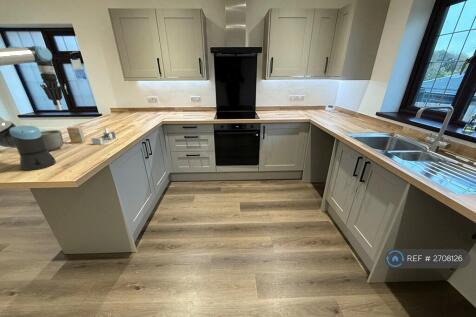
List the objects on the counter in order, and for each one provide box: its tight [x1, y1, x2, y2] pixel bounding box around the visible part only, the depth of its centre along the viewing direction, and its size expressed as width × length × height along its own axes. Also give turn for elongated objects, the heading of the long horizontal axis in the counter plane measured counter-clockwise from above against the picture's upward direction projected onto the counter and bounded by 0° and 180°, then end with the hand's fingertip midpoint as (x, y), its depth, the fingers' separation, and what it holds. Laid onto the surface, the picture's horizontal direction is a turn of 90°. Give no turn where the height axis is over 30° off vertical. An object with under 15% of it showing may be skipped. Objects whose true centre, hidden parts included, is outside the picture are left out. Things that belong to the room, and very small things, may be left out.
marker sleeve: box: [102, 126, 113, 139], centre depth 165 cm, size 3×5×9 cm, turn 85°
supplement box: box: [66, 126, 86, 144], centre depth 157 cm, size 8×5×13 cm, turn 105°
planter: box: [40, 129, 64, 152], centre depth 141 cm, size 14×14×13 cm
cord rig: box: [91, 131, 117, 146], centre depth 163 cm, size 20×8×6 cm, turn 175°
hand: (59, 109), depth 136 cm, fingers closed
